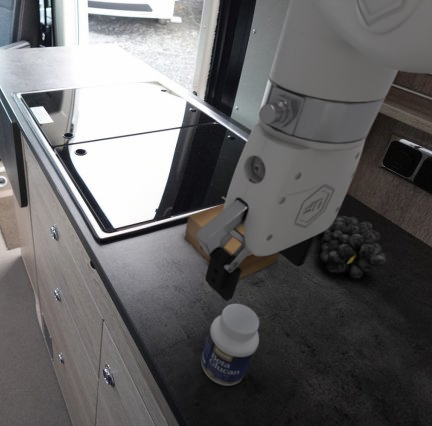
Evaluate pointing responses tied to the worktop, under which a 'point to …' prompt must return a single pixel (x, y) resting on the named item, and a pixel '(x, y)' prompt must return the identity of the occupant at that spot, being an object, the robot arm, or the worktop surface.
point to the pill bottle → (230, 345)
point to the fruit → (351, 247)
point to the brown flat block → (248, 264)
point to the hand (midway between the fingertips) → (254, 272)
